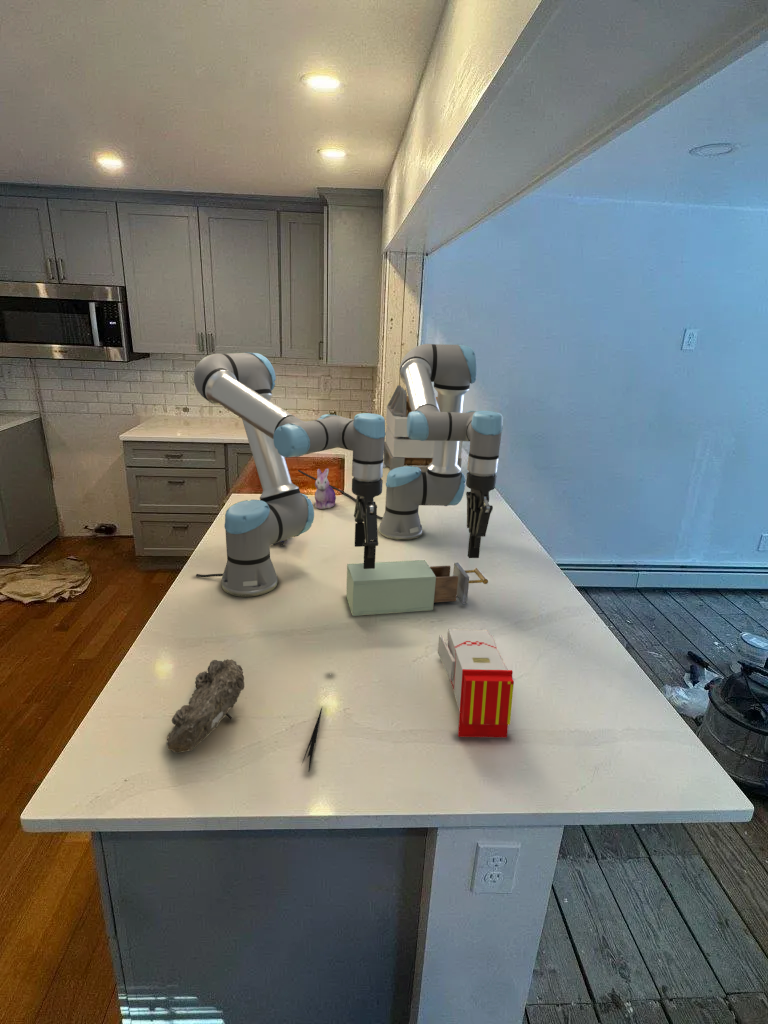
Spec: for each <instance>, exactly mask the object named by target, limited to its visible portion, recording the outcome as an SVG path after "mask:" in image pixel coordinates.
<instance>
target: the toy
mask: <svg viewBox="0 0 768 1024" xmlns="http://www.w3.org/2000/svg"><path fill="white" fill-rule="evenodd" d="M446 640H447V643H446V641H445V639H444V636H443V635H442V634H439V637H438V646H437V656H438V657H439V659H440V661H441V663H442V666H443V668H444V670H445V672H446V674H447V677H448V679H449V681H450V684H451V687H452V690H453V693H454V697H455V701H456V705H457V708H458V711H459V714H458V715H459V716H458V730H457V731H458V732H457V737H458V738H508V731H509V726H510V725H511V717H512V707H513V697H514V696H513V695H514V684H515V680H514V679H513V673H514V671H513V670H512V669H508V667H507V665H506V662H505V661H504V659H503V658H502V655H501V653H500V651H499V649H498V647H497V643H496V639H495V637H494V635H493V634H491V632H490V631H489V629H467V628H466V629H465V628H463V629H461V628H460V629H459V628H448V630H447V639H446Z"/></svg>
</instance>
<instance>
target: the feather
mask: <svg viewBox="0 0 768 1024" xmlns="http://www.w3.org/2000/svg"><path fill="white" fill-rule="evenodd" d="M329 675H330V676H331V675H332V674H331V673H330V674H329ZM322 710H323V707H321V708H320V710H319V713H318V716H317V719H316V723H315V725H314V728H313V731H312V733H311V737H310V739H309V742H308V745H307V748H306V751H305V754H304V757H303V760H302V763H301V767H302V765H303V763H304V761H305V758H308V759H309V760H308V762H307V763H308V764H307V766H308V771H310V770H311V766H312V765H311V764H312V760H313V757H315V756H314V755H315V751H316V749H315V746H317V739H318V733H319V729H320V722H321V717H322V712H323V711H322ZM313 754H314V755H313ZM306 755H307V757H306Z"/></svg>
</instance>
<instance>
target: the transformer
mask: <svg viewBox="0 0 768 1024" xmlns="http://www.w3.org/2000/svg"><path fill="white" fill-rule="evenodd" d="M435 397H436V400H437V397H438V396H435ZM410 412H412V411H411V406H410V402H409V397H408V393H407V389H404V388H403V387H402V385H399V384H398V385H397V386H396V388H395V390H394V392H393V394H392V395H391V398H390V400H389V402H388V404H387V405H386V413H385V414H386V415H385V424H386V425H385V433H386V435H385V443H384V454H383V458H384V459H383V464H384V465H385V467H388V468H389V471H391V470H392V469H394V468H398V467H403V466H412V467H427V466H428V465H429V464H430V463H432V457H433V445H434V441H426V440H425V441H420V440H412V439H410V438H409V437H408V435H407V417H408V414H409V413H410ZM463 442H464V441H459V451H458V461H457V464H458V466H459V467H460V468H461V469H462V461H463V460H462V453H463Z"/></svg>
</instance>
